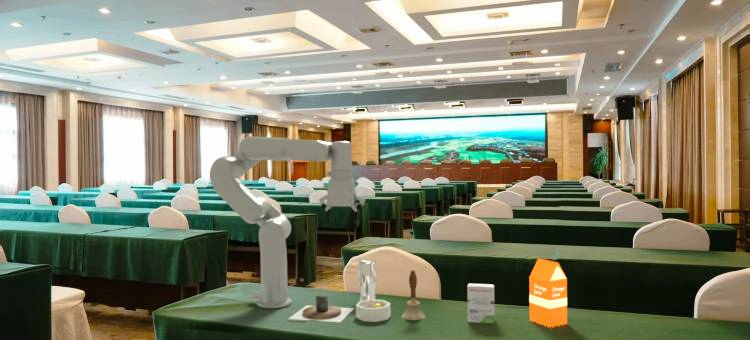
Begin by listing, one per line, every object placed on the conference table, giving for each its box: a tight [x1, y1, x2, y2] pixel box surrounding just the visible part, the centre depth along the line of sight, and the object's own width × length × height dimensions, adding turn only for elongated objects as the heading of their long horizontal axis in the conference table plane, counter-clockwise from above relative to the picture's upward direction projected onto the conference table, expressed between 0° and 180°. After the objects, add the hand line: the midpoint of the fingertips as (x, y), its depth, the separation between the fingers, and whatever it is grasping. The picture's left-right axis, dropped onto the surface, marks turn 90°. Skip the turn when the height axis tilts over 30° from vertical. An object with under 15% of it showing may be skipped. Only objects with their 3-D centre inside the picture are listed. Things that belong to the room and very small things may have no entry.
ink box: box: [466, 282, 496, 324], centre depth 168 cm, size 9×5×12 cm, turn 77°
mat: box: [287, 304, 355, 323], centre depth 176 cm, size 18×16×1 cm
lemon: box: [372, 303, 382, 308], centre depth 174 cm, size 4×4×4 cm
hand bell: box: [401, 270, 426, 321], centre depth 171 cm, size 8×8×16 cm
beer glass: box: [357, 259, 378, 301], centre depth 192 cm, size 7×7×15 cm
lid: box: [303, 293, 342, 319], centre depth 176 cm, size 13×13×6 cm
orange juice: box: [528, 257, 568, 329], centre depth 165 cm, size 8×9×20 cm
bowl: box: [355, 299, 392, 323], centre depth 172 cm, size 11×11×5 cm
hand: (342, 221), depth 188 cm, fingers open, 9 cm apart
